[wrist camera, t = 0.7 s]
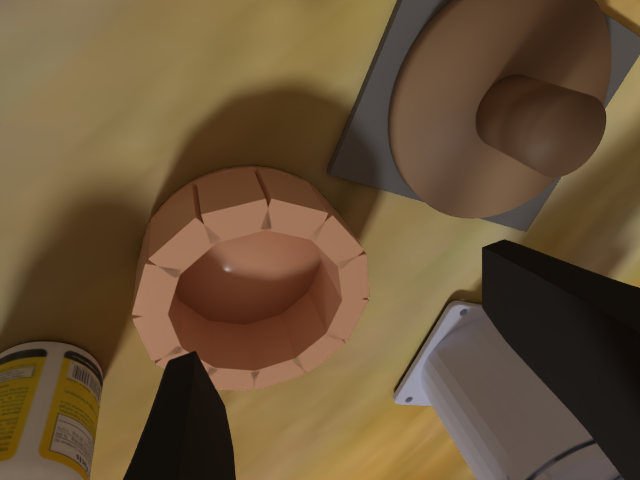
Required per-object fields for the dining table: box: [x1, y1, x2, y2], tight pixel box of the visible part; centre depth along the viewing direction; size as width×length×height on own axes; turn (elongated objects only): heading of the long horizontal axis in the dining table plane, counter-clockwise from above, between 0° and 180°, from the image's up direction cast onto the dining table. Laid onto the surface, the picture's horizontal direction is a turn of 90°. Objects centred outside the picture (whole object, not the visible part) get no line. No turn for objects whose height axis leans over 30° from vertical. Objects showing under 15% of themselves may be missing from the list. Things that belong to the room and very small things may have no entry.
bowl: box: [132, 165, 370, 391], centre depth 19 cm, size 9×9×4 cm
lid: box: [388, 0, 612, 219], centre depth 18 cm, size 10×10×4 cm
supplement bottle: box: [0, 341, 103, 480], centre depth 17 cm, size 5×5×8 cm
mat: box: [327, 0, 640, 232], centre depth 20 cm, size 12×10×1 cm
